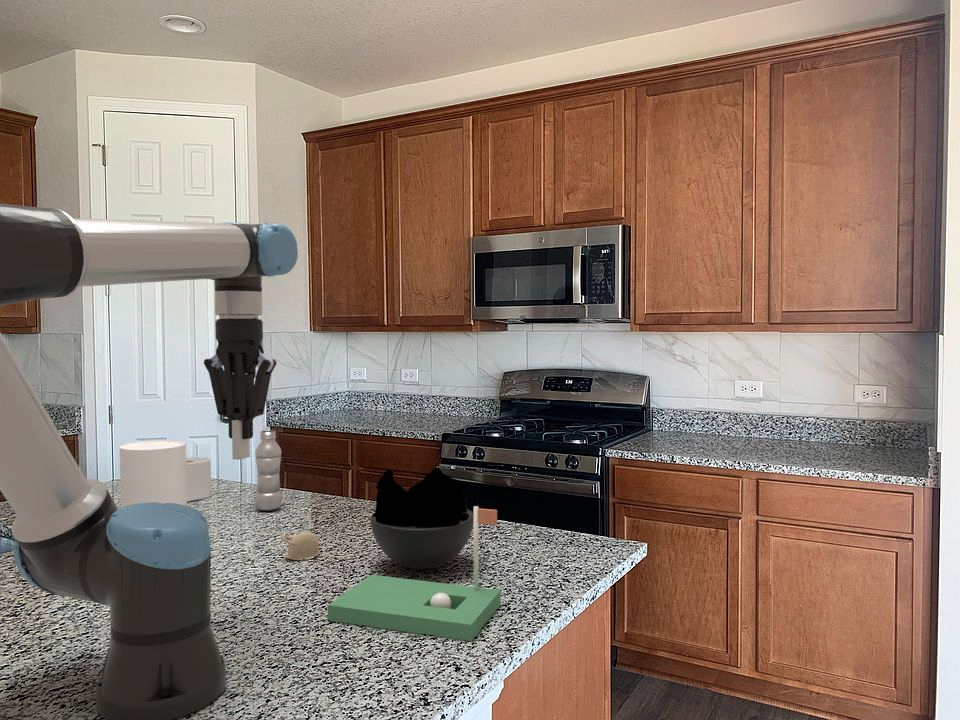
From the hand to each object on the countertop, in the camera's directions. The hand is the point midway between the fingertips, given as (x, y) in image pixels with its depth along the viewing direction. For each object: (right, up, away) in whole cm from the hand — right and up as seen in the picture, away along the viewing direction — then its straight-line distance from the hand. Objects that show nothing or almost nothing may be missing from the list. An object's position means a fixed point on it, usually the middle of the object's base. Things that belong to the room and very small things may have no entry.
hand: (241, 457), depth 124 cm
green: (+30, -25, -4) cm, 39 cm away
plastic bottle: (-13, -22, +62) cm, 67 cm away
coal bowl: (+29, -24, +19) cm, 42 cm away
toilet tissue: (-38, -21, +76) cm, 88 cm away
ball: (+34, -23, -5) cm, 41 cm away
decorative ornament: (+4, -24, +24) cm, 34 cm away
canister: (-33, -23, +42) cm, 58 cm away
